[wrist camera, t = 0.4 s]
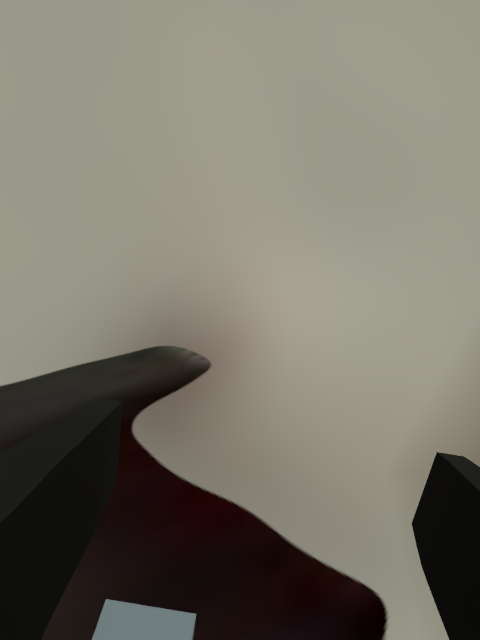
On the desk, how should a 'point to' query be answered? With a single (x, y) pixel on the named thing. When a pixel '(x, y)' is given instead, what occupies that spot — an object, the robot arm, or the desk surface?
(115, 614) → the tab peg
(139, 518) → the desk surface
